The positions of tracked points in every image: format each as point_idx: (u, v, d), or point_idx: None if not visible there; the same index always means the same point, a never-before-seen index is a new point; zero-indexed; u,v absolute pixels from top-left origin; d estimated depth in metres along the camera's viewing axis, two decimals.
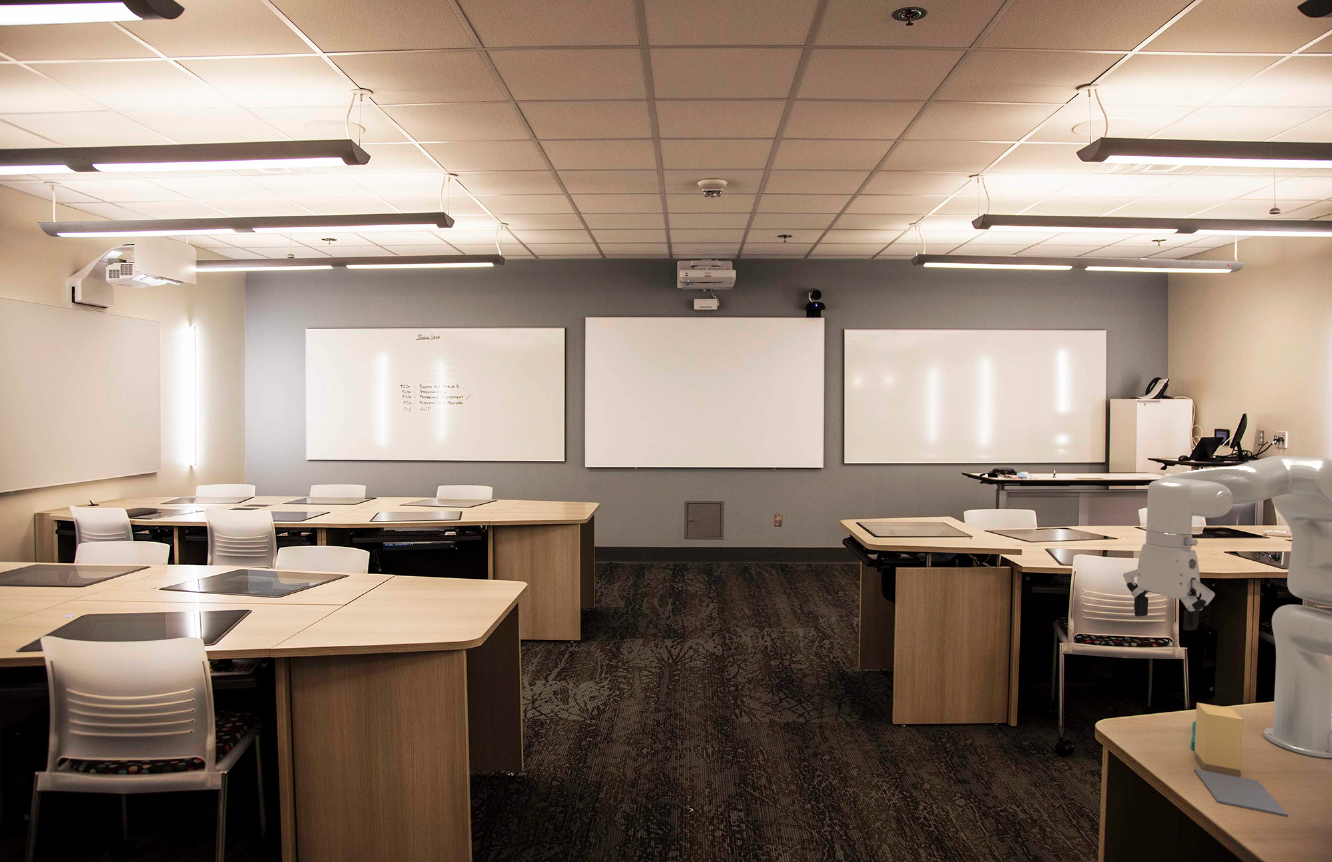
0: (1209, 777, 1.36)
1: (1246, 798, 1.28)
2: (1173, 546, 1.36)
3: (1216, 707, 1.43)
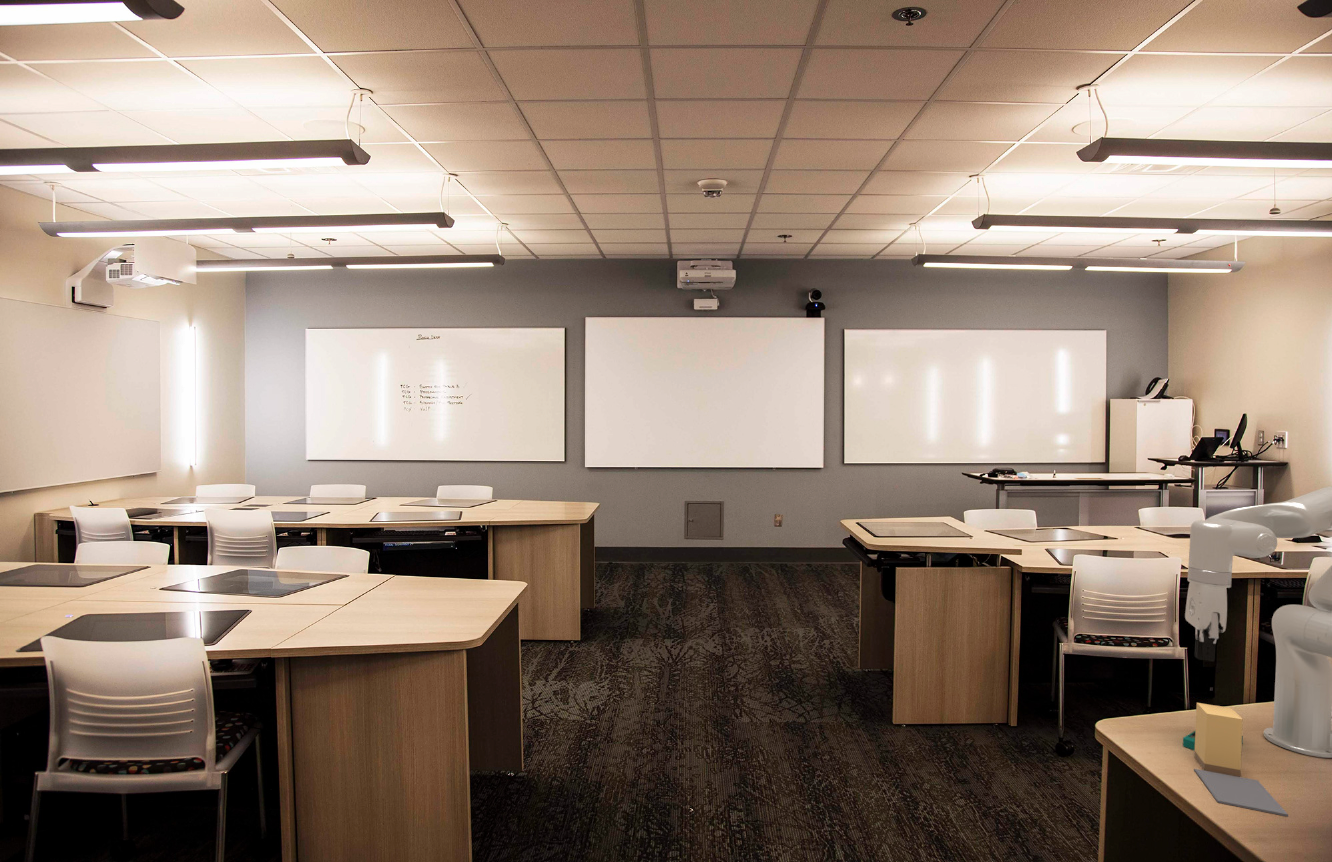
0: (1209, 777, 1.36)
1: (1246, 798, 1.28)
2: None
3: (1215, 707, 1.43)
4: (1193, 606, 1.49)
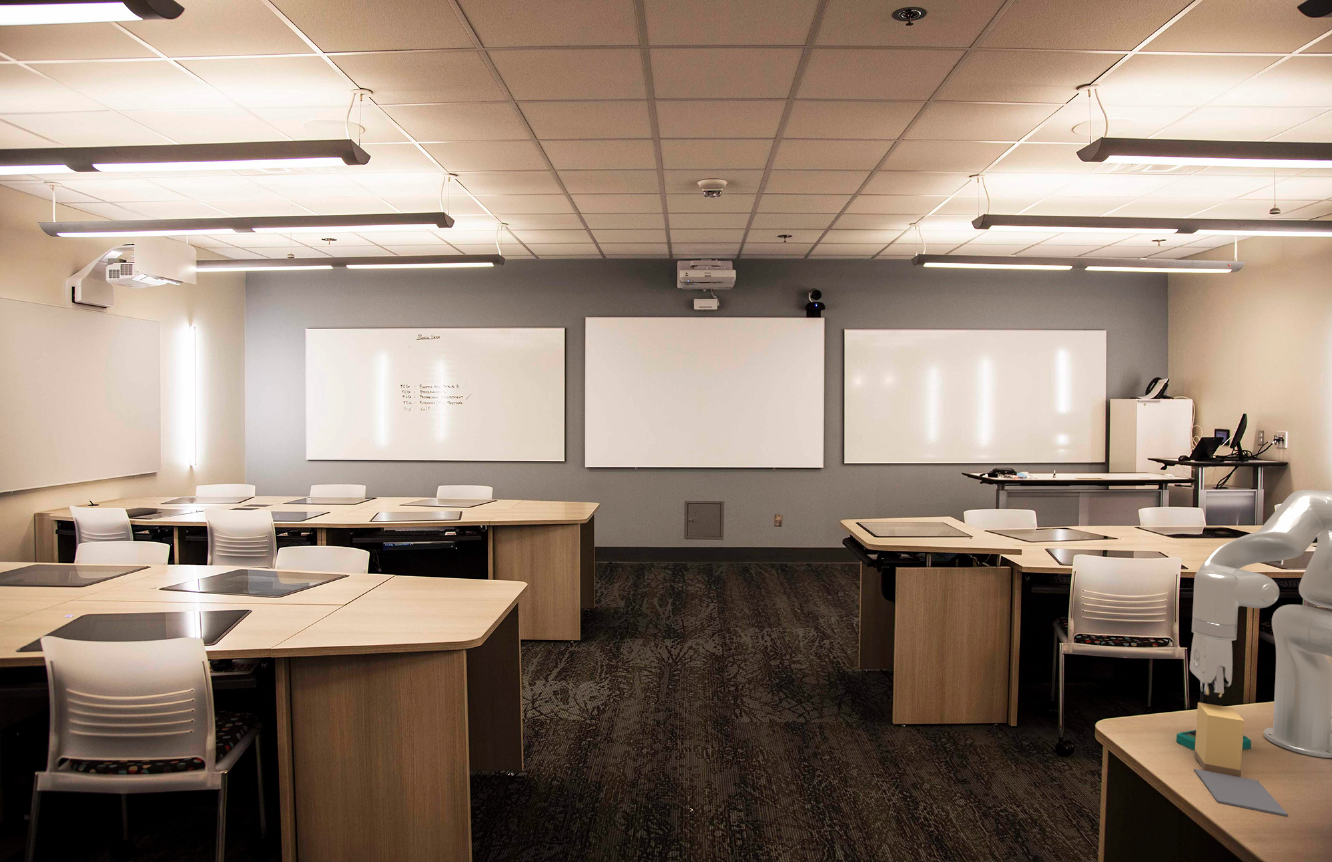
0: (1209, 777, 1.36)
1: (1246, 798, 1.28)
2: None
3: (1217, 707, 1.42)
4: (1198, 658, 1.45)
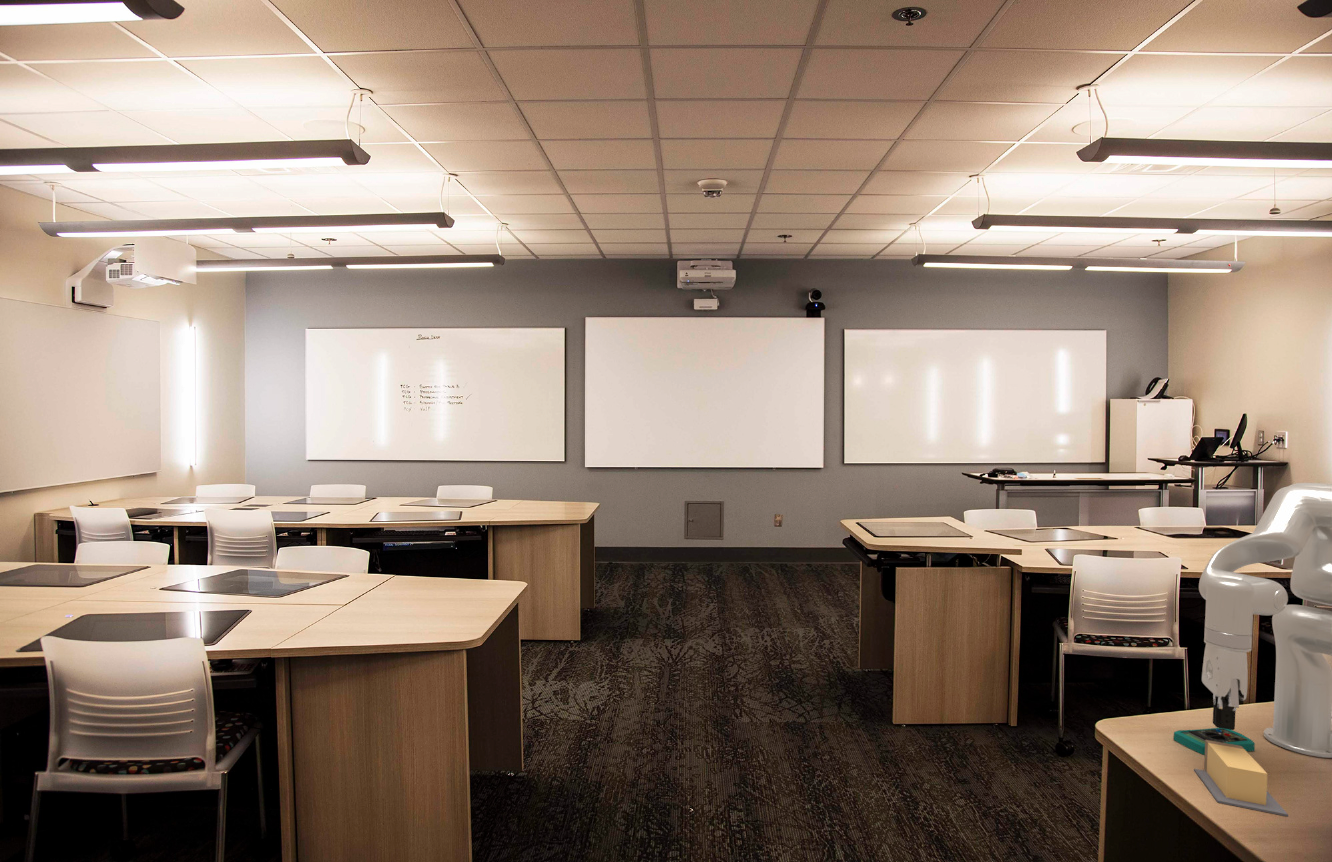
0: (1209, 777, 1.36)
1: None
2: None
3: (1247, 776, 1.28)
4: (1210, 670, 1.39)
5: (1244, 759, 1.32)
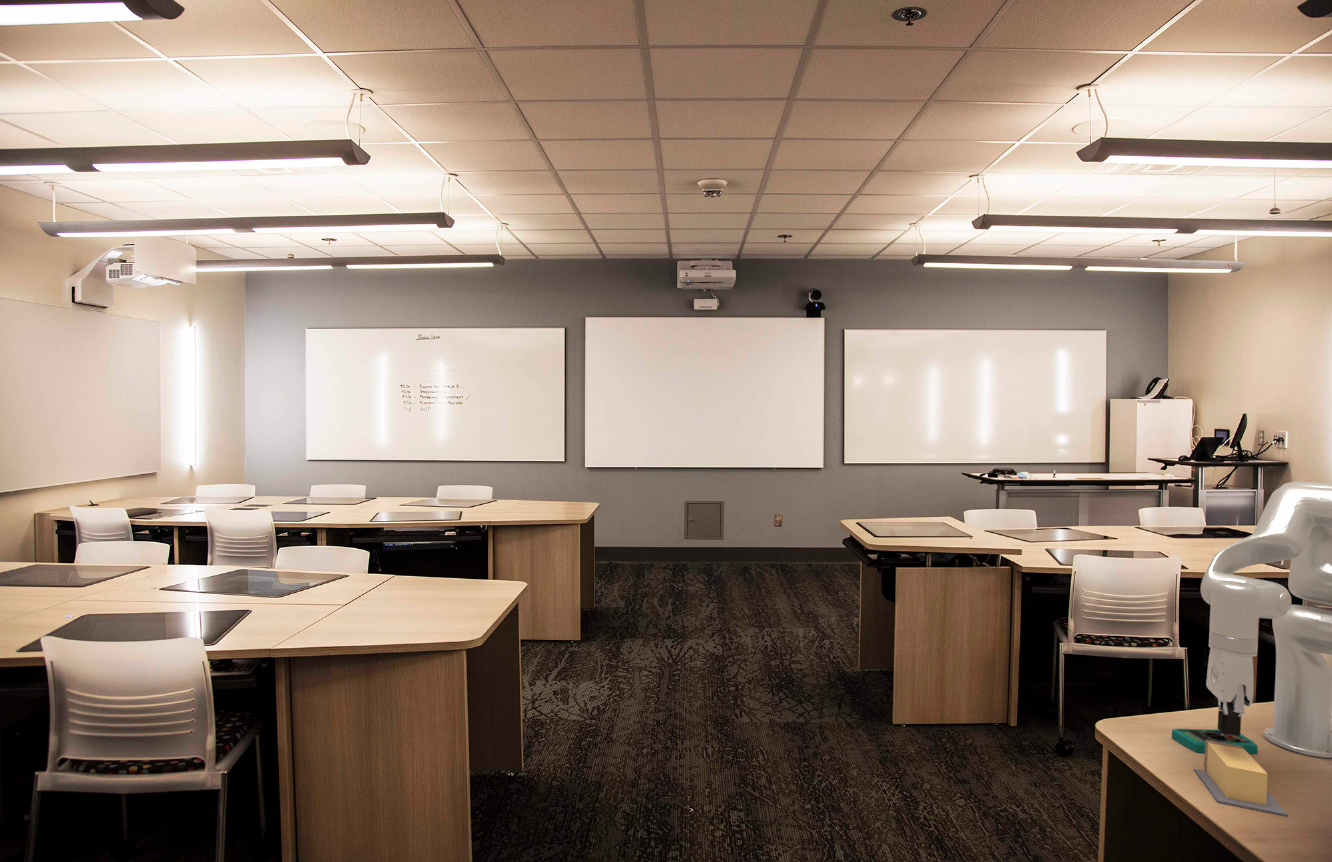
0: (1209, 777, 1.36)
1: None
2: None
3: (1247, 776, 1.28)
4: (1216, 675, 1.36)
5: (1244, 759, 1.32)
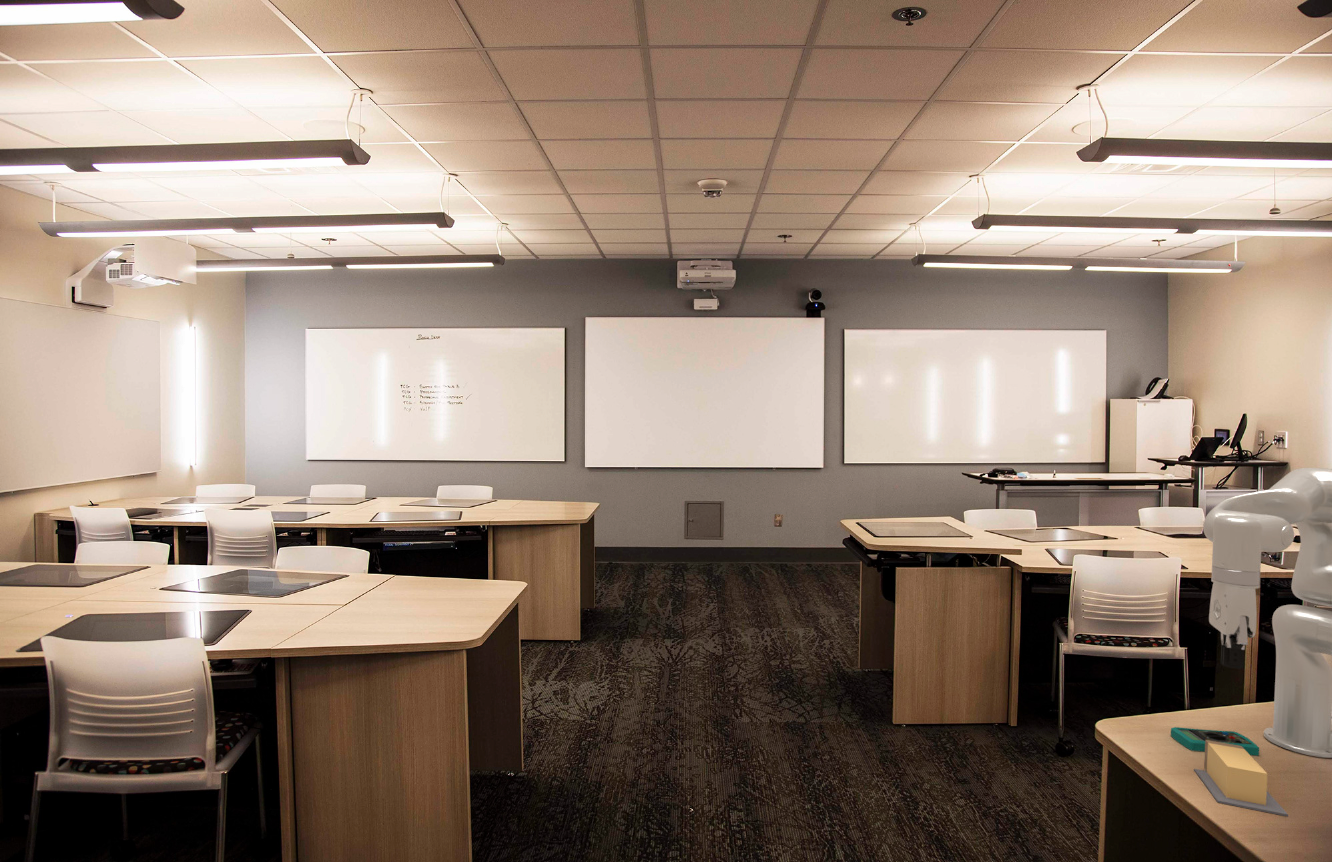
0: (1209, 777, 1.36)
1: None
2: None
3: (1247, 776, 1.28)
4: (1218, 609, 1.36)
5: (1244, 759, 1.32)
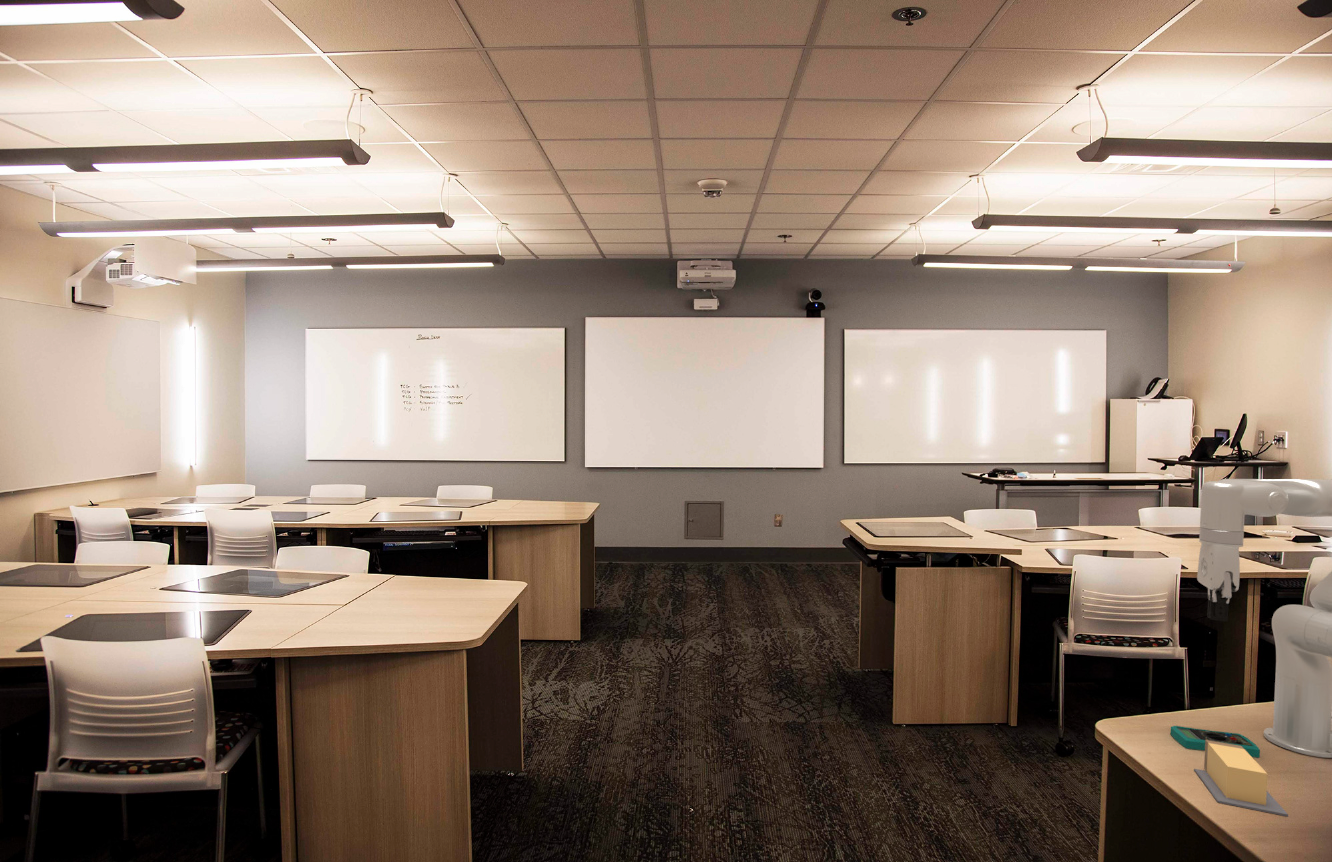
0: (1209, 777, 1.36)
1: None
2: None
3: (1247, 776, 1.28)
4: (1205, 567, 1.49)
5: (1244, 759, 1.32)
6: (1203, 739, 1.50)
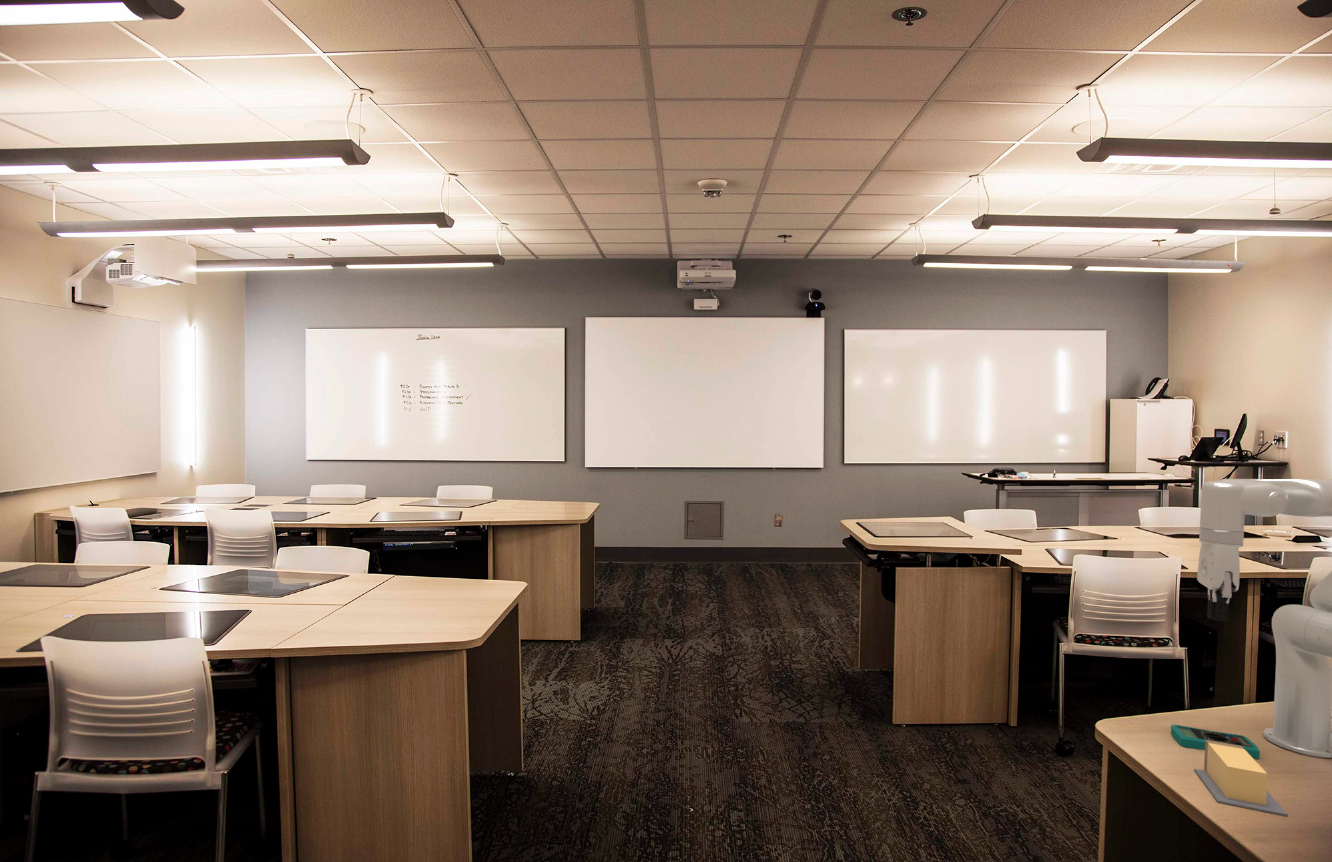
0: (1209, 777, 1.36)
1: None
2: None
3: (1247, 776, 1.28)
4: (1205, 567, 1.49)
5: (1244, 759, 1.32)
6: (1201, 738, 1.50)
